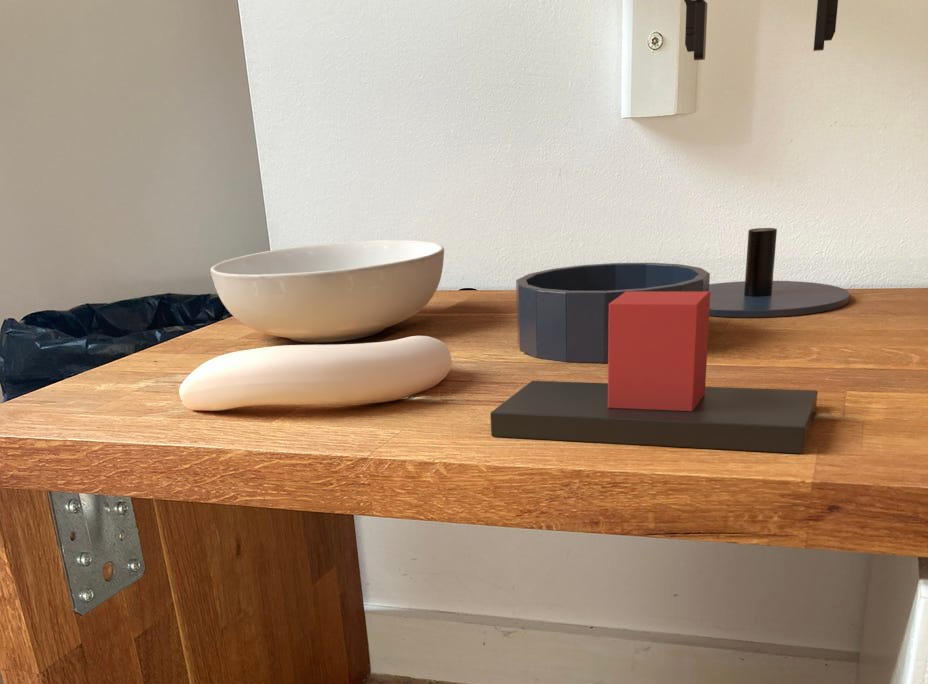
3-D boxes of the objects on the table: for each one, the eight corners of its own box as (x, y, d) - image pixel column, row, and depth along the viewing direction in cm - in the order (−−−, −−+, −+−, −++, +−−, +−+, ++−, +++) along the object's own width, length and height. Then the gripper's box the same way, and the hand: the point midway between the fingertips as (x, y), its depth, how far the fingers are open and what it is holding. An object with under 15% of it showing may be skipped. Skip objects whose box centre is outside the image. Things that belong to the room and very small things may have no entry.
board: (815, 414, 62) (818, 390, 61) (802, 454, 56) (805, 427, 55) (532, 402, 69) (531, 380, 68) (490, 436, 62) (489, 412, 61)
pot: (718, 331, 85) (722, 261, 83) (684, 372, 73) (688, 292, 71) (550, 329, 91) (549, 263, 88) (493, 366, 79) (490, 292, 76)
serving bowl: (300, 310, 108) (292, 240, 104) (483, 314, 99) (480, 238, 96) (174, 353, 91) (159, 272, 88) (381, 362, 83) (373, 272, 79)
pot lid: (853, 293, 97) (862, 217, 94) (842, 326, 84) (851, 239, 81) (686, 293, 103) (689, 221, 99) (652, 323, 90) (655, 242, 87)
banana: (163, 427, 69) (217, 376, 82) (446, 426, 68) (455, 376, 81) (152, 352, 66) (209, 313, 79) (445, 351, 65) (455, 312, 78)
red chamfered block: (705, 394, 62) (710, 291, 59) (692, 412, 59) (698, 303, 56) (623, 391, 64) (625, 291, 61) (607, 408, 61) (608, 303, 58)
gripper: (662, -218, 68) (655, 62, 75) (894, -255, 64) (863, 45, 71) (673, -192, 74) (666, 64, 82) (885, -225, 70) (857, 48, 78)
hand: (758, 55), depth 77 cm, fingers open, 8 cm apart
